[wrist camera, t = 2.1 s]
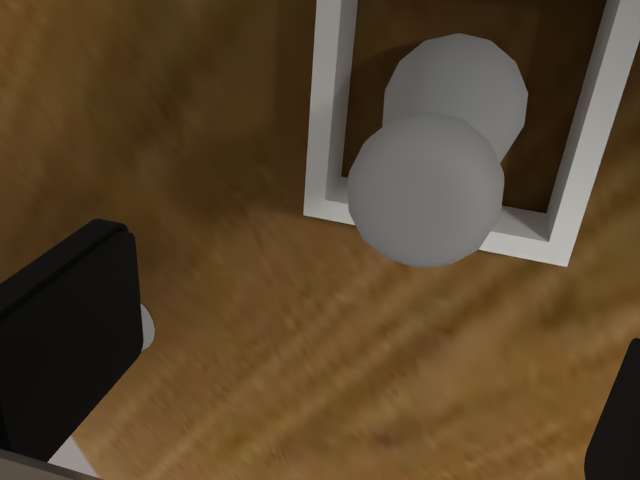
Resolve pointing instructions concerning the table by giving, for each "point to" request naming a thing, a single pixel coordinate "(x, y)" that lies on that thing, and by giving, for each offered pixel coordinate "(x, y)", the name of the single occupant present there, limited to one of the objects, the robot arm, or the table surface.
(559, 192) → the grey square frame
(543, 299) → the table surface
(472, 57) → the salt shaker
